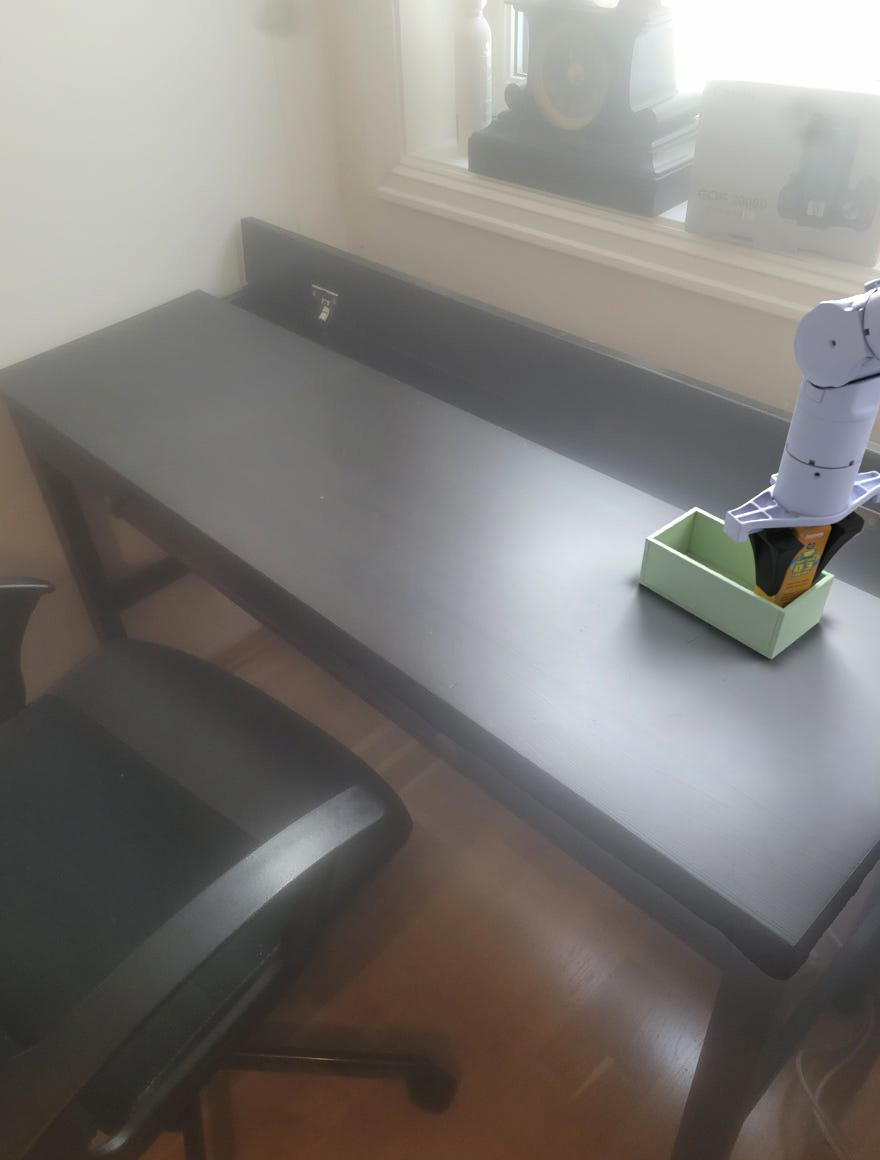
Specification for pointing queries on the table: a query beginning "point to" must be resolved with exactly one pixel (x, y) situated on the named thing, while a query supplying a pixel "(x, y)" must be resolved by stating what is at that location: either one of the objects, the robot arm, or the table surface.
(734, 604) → the storage bin
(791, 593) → the supplement box
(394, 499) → the table surface
